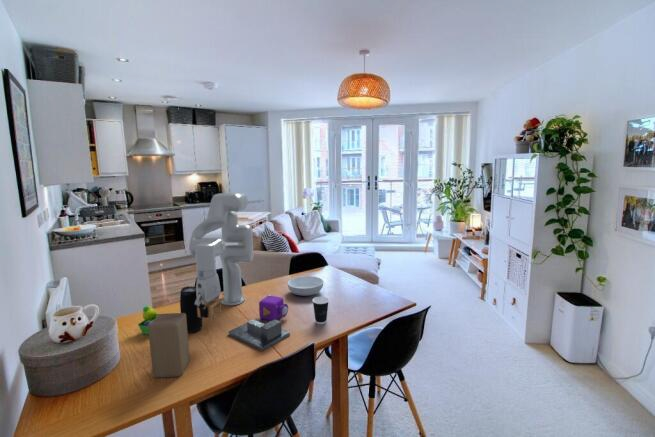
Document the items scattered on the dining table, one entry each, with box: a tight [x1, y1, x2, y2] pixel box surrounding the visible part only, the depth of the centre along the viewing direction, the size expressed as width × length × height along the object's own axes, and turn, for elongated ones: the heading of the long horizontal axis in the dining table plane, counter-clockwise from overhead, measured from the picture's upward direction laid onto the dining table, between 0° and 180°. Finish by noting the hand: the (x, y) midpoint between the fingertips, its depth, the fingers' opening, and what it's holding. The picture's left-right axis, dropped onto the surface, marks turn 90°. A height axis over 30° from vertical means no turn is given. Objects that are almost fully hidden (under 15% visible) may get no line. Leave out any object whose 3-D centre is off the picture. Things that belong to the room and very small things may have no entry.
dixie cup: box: [312, 296, 330, 325], centre depth 156 cm, size 8×8×11 cm
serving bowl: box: [287, 275, 325, 297], centre depth 193 cm, size 21×21×7 cm
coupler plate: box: [228, 318, 291, 352], centre depth 145 cm, size 22×16×8 cm
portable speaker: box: [179, 286, 203, 334], centre depth 149 cm, size 9×9×20 cm
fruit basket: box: [137, 305, 160, 335], centre depth 150 cm, size 11×9×11 cm
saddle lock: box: [197, 298, 222, 320], centre depth 138 cm, size 7×6×6 cm
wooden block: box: [148, 312, 191, 379], centre depth 119 cm, size 10×10×20 cm
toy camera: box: [258, 294, 289, 322], centre depth 161 cm, size 11×14×10 cm
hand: (209, 313), depth 139 cm, fingers closed on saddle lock, 6 cm apart
